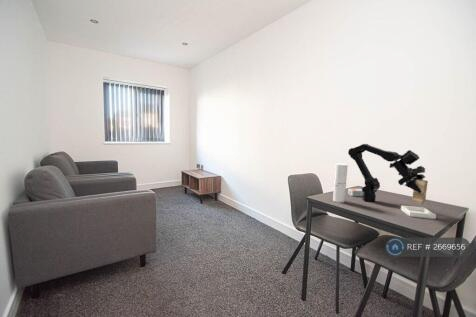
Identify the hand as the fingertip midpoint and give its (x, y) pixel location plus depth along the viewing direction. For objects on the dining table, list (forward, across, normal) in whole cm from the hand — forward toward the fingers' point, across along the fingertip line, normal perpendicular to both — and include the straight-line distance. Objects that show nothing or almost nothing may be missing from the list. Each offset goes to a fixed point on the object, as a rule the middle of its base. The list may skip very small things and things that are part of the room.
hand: (422, 192), depth 127 cm
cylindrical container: (-17, -20, +36) cm, 45 cm away
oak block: (+4, 0, +6) cm, 7 cm away
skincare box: (-23, 0, +40) cm, 46 cm away
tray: (+8, 0, +11) cm, 14 cm away
